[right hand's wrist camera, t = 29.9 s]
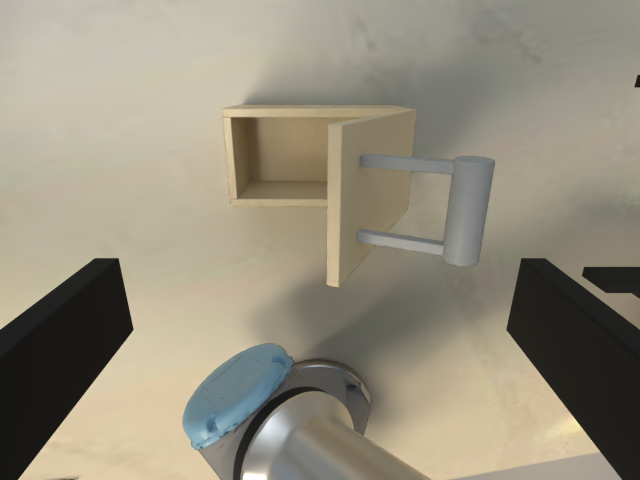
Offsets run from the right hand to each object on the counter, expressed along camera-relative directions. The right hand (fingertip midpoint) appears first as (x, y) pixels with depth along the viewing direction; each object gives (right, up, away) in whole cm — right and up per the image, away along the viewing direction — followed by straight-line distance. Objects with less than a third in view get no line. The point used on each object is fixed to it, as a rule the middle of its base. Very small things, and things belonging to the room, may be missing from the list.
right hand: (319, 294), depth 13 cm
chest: (0, +13, +32) cm, 35 cm away
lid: (+4, +6, +16) cm, 18 cm away
